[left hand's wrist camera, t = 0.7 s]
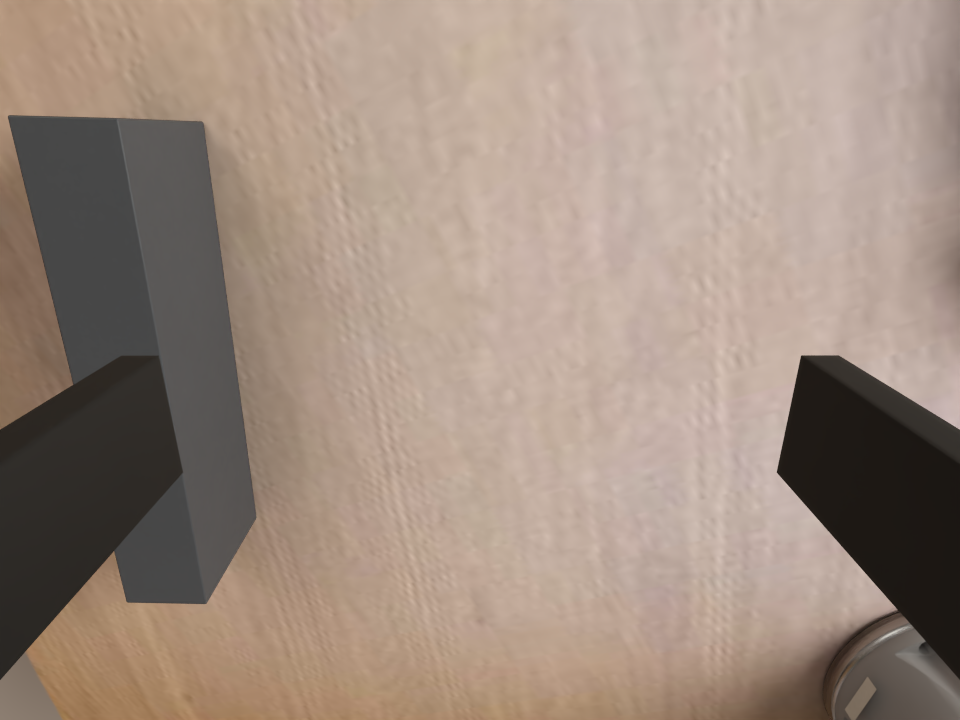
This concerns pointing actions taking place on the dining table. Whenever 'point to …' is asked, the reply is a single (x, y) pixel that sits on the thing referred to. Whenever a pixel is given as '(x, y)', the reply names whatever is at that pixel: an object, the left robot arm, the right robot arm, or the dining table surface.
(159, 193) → the bar
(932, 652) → the right robot arm
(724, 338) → the dining table surface
